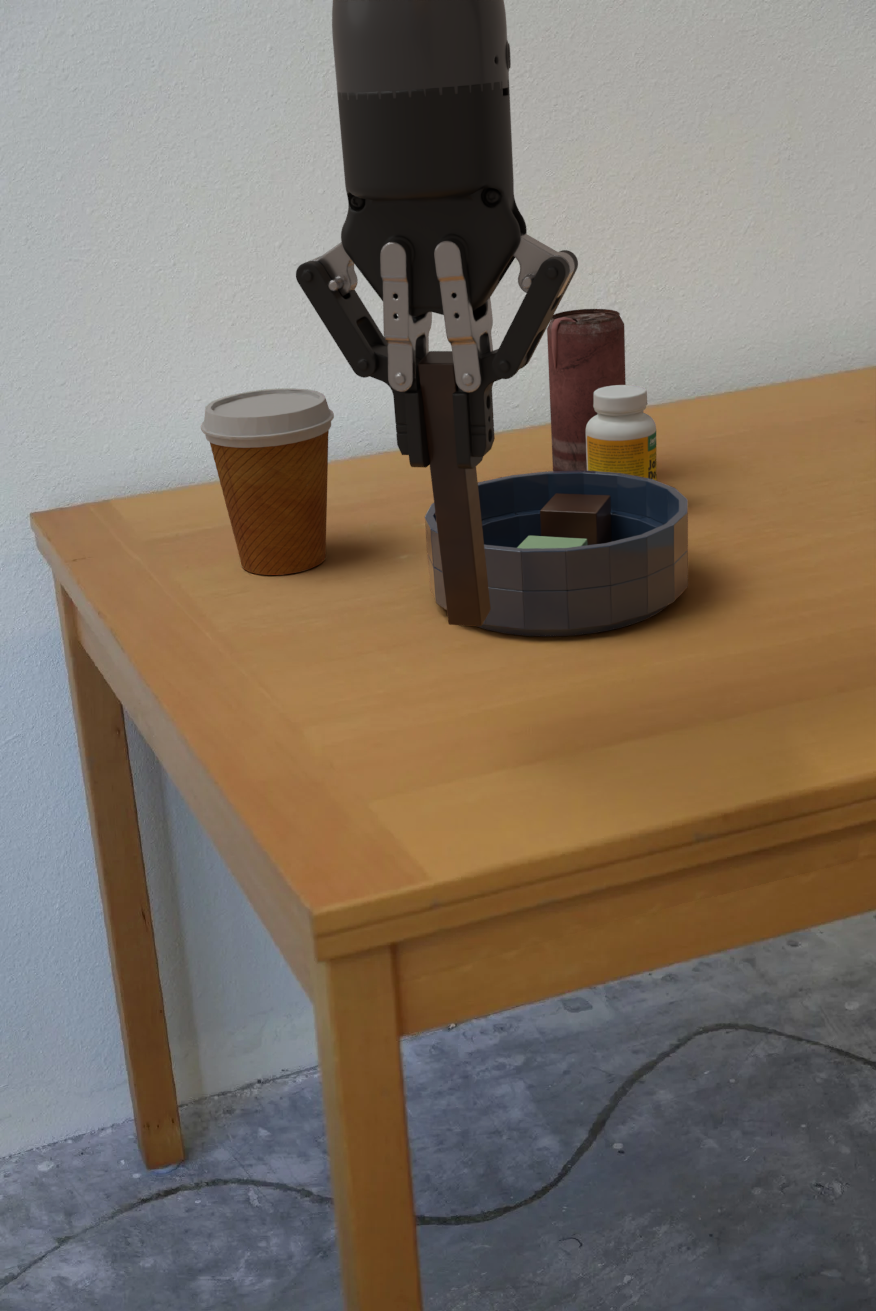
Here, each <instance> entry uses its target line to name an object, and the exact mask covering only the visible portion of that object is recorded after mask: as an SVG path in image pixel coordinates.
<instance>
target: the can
mask: <svg viewBox="0 0 876 1311" xmlns="http://www.w3.org/2000/svg"><path fill="white" fill-rule="evenodd" d="M625 332H626V331H625V323H624V321H623V318H621V314H620V312H619V311H618V310H613V309H608V308H607V309H606V308H580V309H572V310H566V311H560V312H557V313H554V315H553V317H552V319H551V321H550V323H549V324H548V326H547V328H546V337H547V338H546V340H547V363H548V387H549V409H550V433H551V435H550V436H551V456H552V457H551V458H552V471H587V460H586V425H587V423H588V421H589V420H590V419H591V418H592V417H594V416H596V415H597V412H596V411H595V410H594V407H593V404H594V391H595V390H597V389H599V388H602V387H607V386H613V385H627V382H626V379H627V378H626V341H625V340H626V335H625Z"/></svg>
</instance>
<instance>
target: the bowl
mask: <svg viewBox="0 0 876 1311" xmlns="http://www.w3.org/2000/svg"><path fill="white" fill-rule="evenodd" d="M478 491H479V501H480V510H481V520H482V530H483V540H484V550H485V560H486V569H487V579H488V589H489V599H490V609H491V610H490V612H489V614H488V615H487V617H486V619H485V621H484V622H483V624H482V626H475V627H476V628H479V629H482V630H486V631H491V632H495V633H501V634H505V635H506V634H507V635H512V636H513V635H514V636H526V637H545V638H547V637H569V636H571V637H572V636H582V635H590V634H591V635H592V634H598V633H603V632H608V631H613V630H617V629H623V628H626V627H628V626H633V625H636V624H638V623H641V622H643V621H645V620H647V619H650V618H651V617H653V616H656V615H658V614H659V613H660V612H662V611H664V610H665V609H666V608H667V607H668V606H669V605H671V604H673V603H674V602H675V601H676V600H677V599H678V598H679V597H680V596H681V595H682V594H683V593H684V592H685V591H686V590H687V588H688V587H689V499H688V498H687V497H686V496H685V495H683V493H681V492H680V491H679V490H678V489H677V488H676V487H675V486H674V487H673V486H671V485H669V484H666V483H664V482H661V481H658V480H657V481H656V480H653V479H649V478H644V477H639V476H634V475H628V474H623V473H613V472H599V471H553V470H551V471H550V470H547V471H537V472H529V473H519V474H511V475H507V476H501V477H497V478H496V477H495V478H492V479H488V480H483V481H478ZM556 493H558V494H584V495H609V496H610V497H611V539H612V542H608V543H603V544H595V545H587V546H578V547H570V548H529V549H523V548H517V547H518V546H519V545H520V544H521V543H522V542H523V541H524V540H525V539H526V538H527V537H528V536H541V520H540V510H541V509H542V508H543V507H544V506H545V505H546V504H547V503H548V501H549V500H550V499H551V498H552V497H553V496H554V495H555V494H556ZM424 526H425V528H424V529H425V541H426V554H427V566H428V580H429V590H430V592H431V594H432V597H433V598H434V599H433V600H434V602H435V603H436V605H438V606H440V607H441V608H442V609H444V610H446V611H447V607H446V598H445V590H444V581H443V573H442V565H441V556H440V548H439V539H438V531H437V523H436V514H435V506H434V502H432V503H431V504H430V506H429V508H428V510H427V511H426V513H425V515H424Z"/></svg>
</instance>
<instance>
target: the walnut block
mask: <svg viewBox="0 0 876 1311" xmlns="http://www.w3.org/2000/svg"><path fill="white" fill-rule="evenodd" d="M540 520H541V536H545V537H563V538H581V539H587V545H595V544H603V543H608V542H612V539H611V497H610V496H609V495H584V494H558V493H556V494H555V495H554V496H553V497H552V498H551V499H550V500H549V501H548V503H547V504H546V505H545V506H544V507H543V508H542V509H541V510H540Z"/></svg>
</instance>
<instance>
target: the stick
mask: <svg viewBox="0 0 876 1311" xmlns="http://www.w3.org/2000/svg"><path fill="white" fill-rule="evenodd" d="M418 371H419V380H420V388H421V392H422V401H423V409H424V418H425V426H426V435H427V443H428V452H429V460H430V465H429V470H430V472H429V473H430V480H431V487H432V488H431V489H432V496H433V503H434V506H435V514H436V523H437V531H438V539H439V548H440V556H441V565H442V573H443V581H444V590H445V598H446V607H447V610H446V613H447V614H446V615H447V622H448V625H451V626H467V627H476V626H482V624H483V622H484V621H485V619H486V617H487V615H488V614H489V612H490V610H491V609H490V599H489V589H488V579H487V569H486V560H485V550H484V540H483V530H482V520H481V510H480V501H479V491H478V482H479V481H478V472H477V466H476V467H475V468H474V469H459V468H458V466H457V459H456V444H455V428H454V413H453V397H452V394H453V393H454V392H455V391H458V385H457V383H456V379H455V371H454V363H453V355H452V350H429V352H428V353H427V354H426V355H425V356H424V358H423V359H422V360H421V361H420V362H419V363H418Z"/></svg>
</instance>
